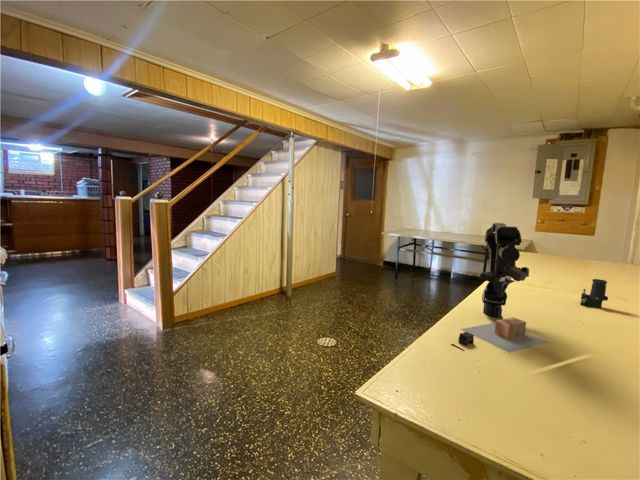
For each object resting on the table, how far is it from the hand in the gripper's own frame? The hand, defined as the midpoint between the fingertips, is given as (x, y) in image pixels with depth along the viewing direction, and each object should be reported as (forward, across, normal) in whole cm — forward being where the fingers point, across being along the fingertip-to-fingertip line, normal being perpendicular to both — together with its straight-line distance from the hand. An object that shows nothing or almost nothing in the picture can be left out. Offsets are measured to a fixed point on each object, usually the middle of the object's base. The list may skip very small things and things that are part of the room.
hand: (500, 296), depth 124 cm
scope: (+13, +74, +2) cm, 75 cm away
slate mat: (+13, -6, -7) cm, 16 cm away
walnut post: (+10, -8, -7) cm, 14 cm away
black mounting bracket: (+14, -25, -7) cm, 29 cm away
